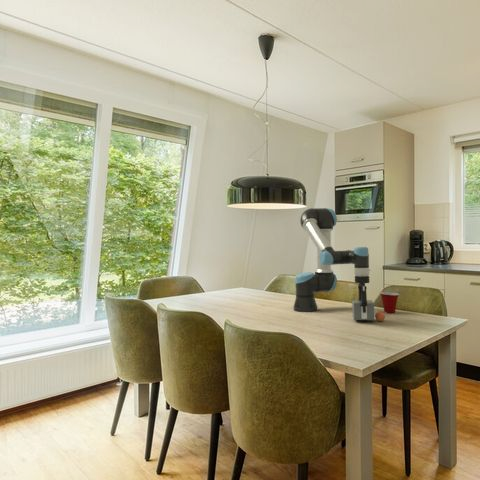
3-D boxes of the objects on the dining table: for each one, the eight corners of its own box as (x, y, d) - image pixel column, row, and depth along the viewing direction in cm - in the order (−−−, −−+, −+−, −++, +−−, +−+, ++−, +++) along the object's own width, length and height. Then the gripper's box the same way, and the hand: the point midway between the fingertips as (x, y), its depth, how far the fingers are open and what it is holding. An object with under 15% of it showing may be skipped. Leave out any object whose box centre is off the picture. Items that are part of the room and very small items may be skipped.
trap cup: (354, 319, 198) (353, 303, 198) (352, 316, 208) (352, 300, 208) (374, 320, 196) (374, 303, 196) (371, 316, 206) (371, 300, 206)
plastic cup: (401, 314, 217) (401, 293, 217) (382, 314, 219) (381, 293, 219) (397, 311, 227) (397, 291, 227) (379, 310, 229) (378, 291, 229)
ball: (381, 310, 198) (387, 318, 197) (380, 309, 203) (386, 316, 202) (373, 316, 199) (379, 324, 198) (372, 314, 204) (378, 322, 203)
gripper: (372, 277, 190) (373, 321, 190) (366, 273, 213) (367, 312, 213) (356, 277, 192) (358, 320, 192) (352, 273, 214) (353, 312, 214)
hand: (363, 316), depth 202 cm, fingers closed on trap cup, 10 cm apart
